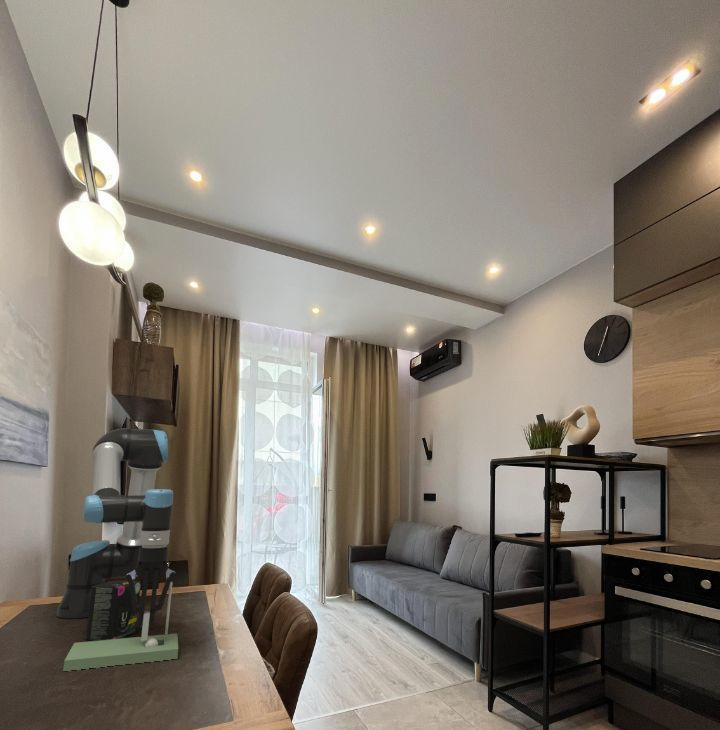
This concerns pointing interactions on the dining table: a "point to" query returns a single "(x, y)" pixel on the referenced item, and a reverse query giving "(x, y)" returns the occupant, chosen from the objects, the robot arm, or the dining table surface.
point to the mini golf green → (123, 649)
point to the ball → (151, 642)
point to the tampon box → (111, 611)
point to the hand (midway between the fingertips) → (144, 639)
